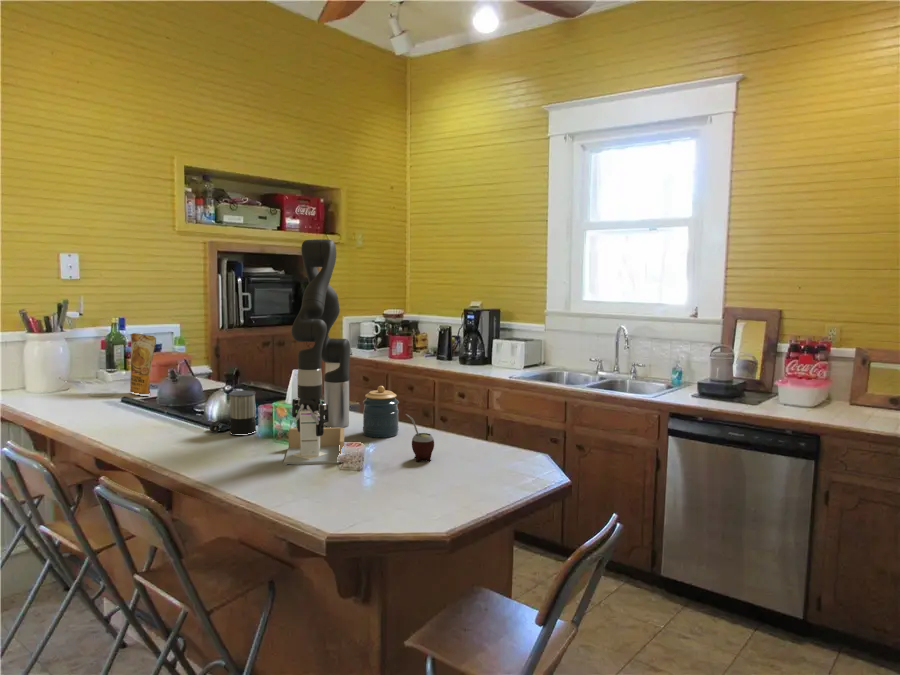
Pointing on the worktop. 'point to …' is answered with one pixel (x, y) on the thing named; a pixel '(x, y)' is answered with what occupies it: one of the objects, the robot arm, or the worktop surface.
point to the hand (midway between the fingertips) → (310, 433)
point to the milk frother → (240, 413)
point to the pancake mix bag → (141, 362)
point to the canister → (380, 413)
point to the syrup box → (308, 434)
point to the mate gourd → (422, 444)
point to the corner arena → (327, 447)
